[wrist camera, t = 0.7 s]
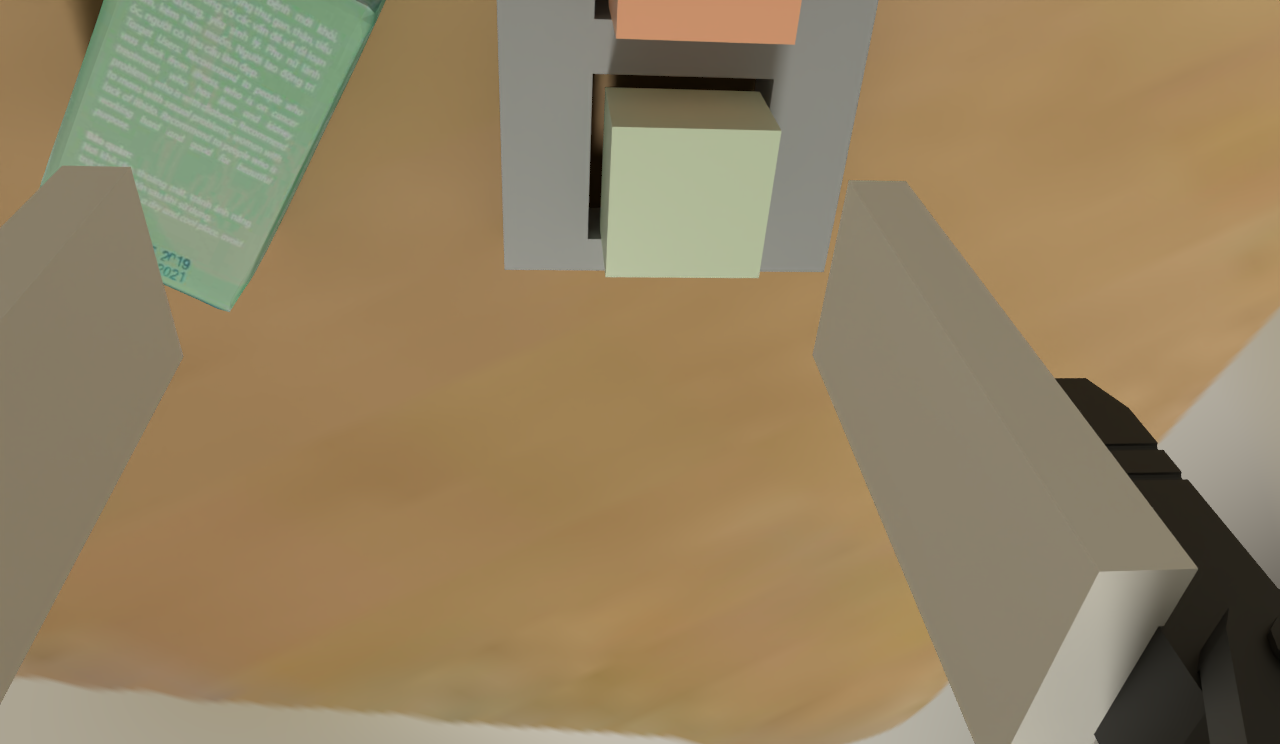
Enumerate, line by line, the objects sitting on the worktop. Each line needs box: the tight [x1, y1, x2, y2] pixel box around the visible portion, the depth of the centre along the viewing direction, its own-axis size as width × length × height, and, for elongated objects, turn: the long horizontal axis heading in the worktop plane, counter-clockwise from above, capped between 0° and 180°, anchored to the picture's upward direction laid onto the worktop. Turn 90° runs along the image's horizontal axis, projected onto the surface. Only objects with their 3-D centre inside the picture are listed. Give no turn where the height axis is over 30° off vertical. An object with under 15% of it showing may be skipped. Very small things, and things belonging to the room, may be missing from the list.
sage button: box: [600, 87, 781, 278], centre depth 36 cm, size 6×6×4 cm
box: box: [40, 0, 386, 312], centre depth 34 cm, size 7×14×8 cm, turn 147°
